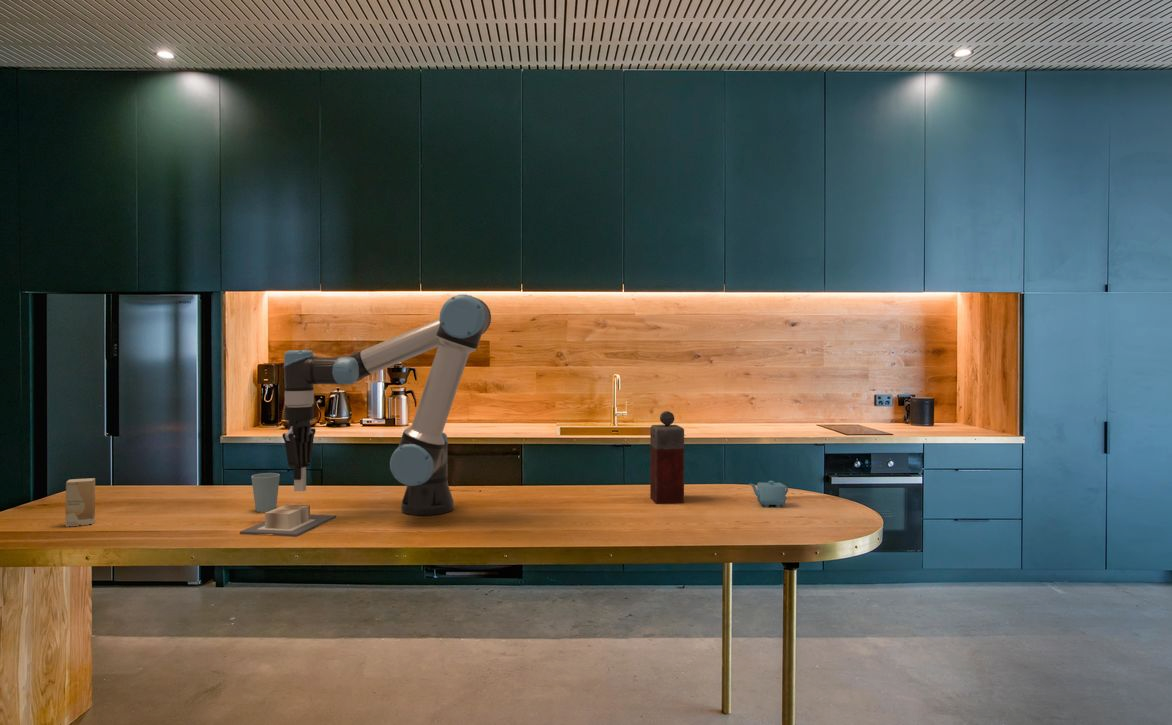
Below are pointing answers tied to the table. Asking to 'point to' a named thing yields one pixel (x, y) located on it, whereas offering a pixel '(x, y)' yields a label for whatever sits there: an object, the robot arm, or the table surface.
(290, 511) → the block
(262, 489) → the cup
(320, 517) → the mat
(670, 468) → the pepper mill
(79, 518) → the skincare box
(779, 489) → the teapot
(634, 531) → the table surface
